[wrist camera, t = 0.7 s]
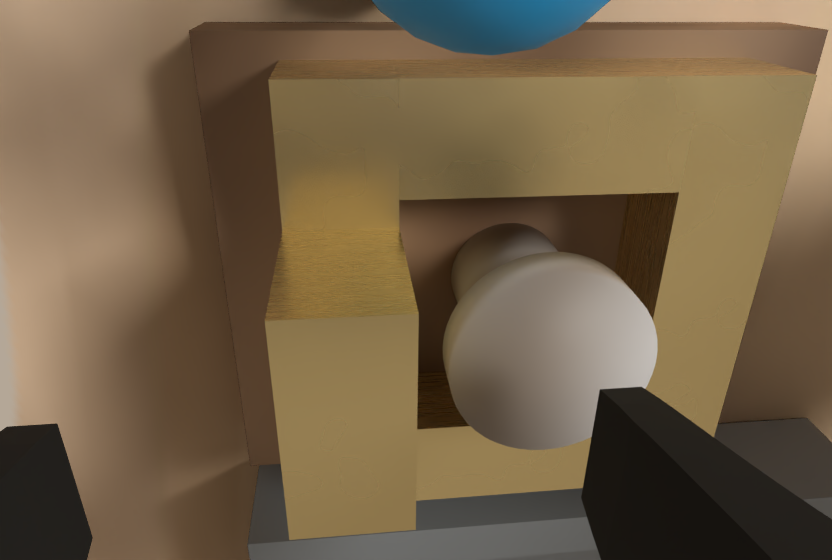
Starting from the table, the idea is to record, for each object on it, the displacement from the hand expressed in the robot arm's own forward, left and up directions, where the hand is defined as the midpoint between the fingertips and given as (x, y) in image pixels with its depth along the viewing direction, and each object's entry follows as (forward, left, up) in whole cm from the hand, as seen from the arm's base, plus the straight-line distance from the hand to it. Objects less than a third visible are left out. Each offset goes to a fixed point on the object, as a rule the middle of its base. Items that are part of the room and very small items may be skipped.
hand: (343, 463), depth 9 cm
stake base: (-4, 0, -7) cm, 8 cm away
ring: (-4, 0, -6) cm, 7 cm away
